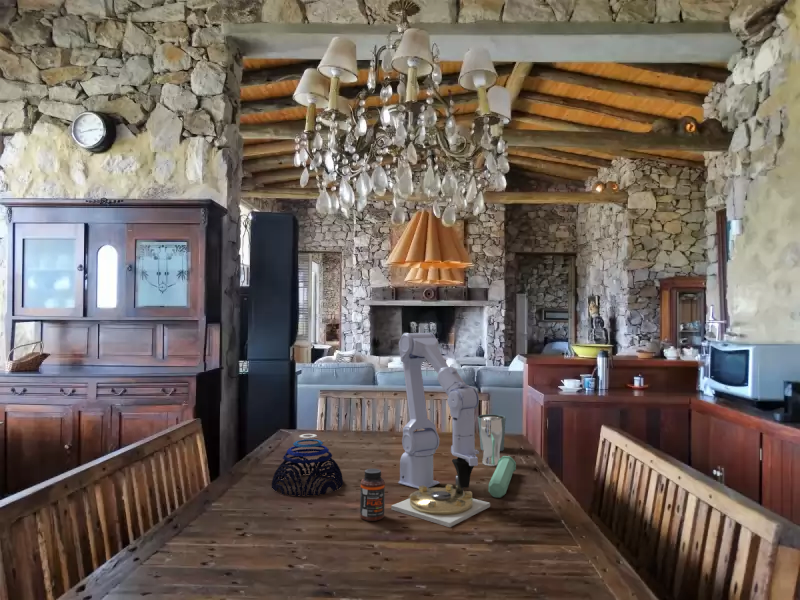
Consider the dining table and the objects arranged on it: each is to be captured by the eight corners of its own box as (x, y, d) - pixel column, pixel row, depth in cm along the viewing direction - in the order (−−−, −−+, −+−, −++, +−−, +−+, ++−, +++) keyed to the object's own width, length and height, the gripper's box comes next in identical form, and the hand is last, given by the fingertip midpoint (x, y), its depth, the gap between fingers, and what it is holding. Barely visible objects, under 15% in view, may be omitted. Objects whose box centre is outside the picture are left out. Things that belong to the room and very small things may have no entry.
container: (502, 477, 146) (511, 452, 169) (481, 483, 147) (494, 458, 171) (510, 498, 145) (519, 471, 169) (490, 504, 146) (501, 476, 170)
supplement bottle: (366, 523, 128) (366, 475, 129) (356, 515, 133) (356, 469, 134) (388, 519, 131) (388, 472, 131) (378, 511, 136) (378, 465, 137)
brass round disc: (406, 513, 132) (406, 489, 132) (412, 492, 148) (412, 470, 148) (473, 516, 130) (473, 491, 130) (472, 494, 146) (472, 472, 146)
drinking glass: (510, 448, 202) (509, 415, 202) (499, 454, 193) (499, 420, 193) (484, 444, 207) (484, 413, 207) (473, 450, 198) (473, 417, 199)
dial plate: (391, 509, 138) (391, 505, 138) (433, 492, 151) (433, 488, 151) (449, 527, 126) (449, 522, 126) (490, 506, 140) (490, 502, 140)
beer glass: (478, 465, 179) (478, 419, 179) (483, 459, 185) (483, 415, 186) (499, 467, 176) (499, 420, 177) (504, 462, 183) (503, 417, 183)
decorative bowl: (357, 485, 158) (357, 435, 158) (300, 502, 143) (301, 447, 144) (314, 471, 172) (314, 425, 172) (259, 486, 157) (259, 436, 158)
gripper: (488, 439, 136) (489, 494, 135) (467, 428, 150) (468, 478, 149) (462, 440, 134) (462, 496, 133) (443, 429, 148) (443, 480, 147)
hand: (464, 487), depth 141 cm, fingers closed
